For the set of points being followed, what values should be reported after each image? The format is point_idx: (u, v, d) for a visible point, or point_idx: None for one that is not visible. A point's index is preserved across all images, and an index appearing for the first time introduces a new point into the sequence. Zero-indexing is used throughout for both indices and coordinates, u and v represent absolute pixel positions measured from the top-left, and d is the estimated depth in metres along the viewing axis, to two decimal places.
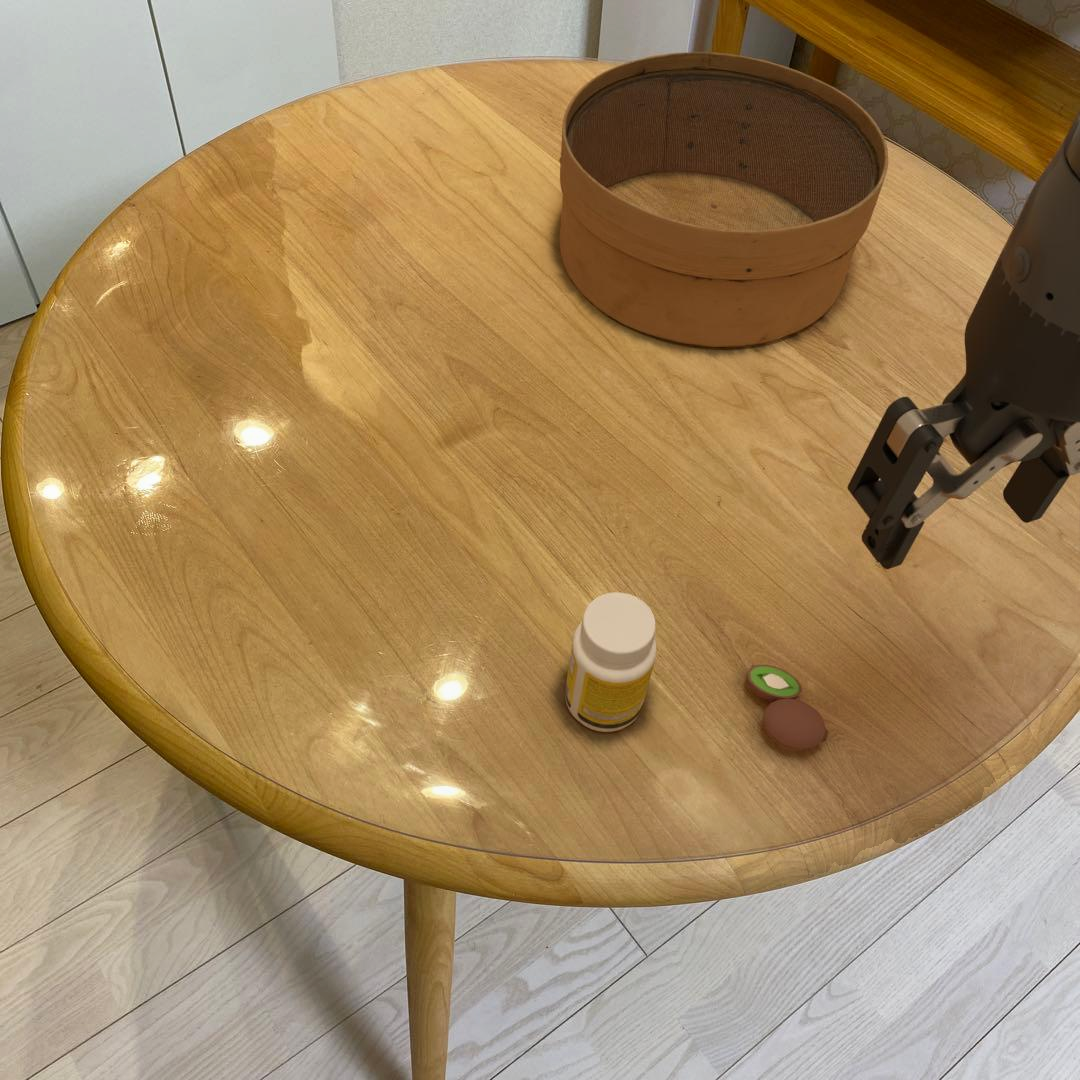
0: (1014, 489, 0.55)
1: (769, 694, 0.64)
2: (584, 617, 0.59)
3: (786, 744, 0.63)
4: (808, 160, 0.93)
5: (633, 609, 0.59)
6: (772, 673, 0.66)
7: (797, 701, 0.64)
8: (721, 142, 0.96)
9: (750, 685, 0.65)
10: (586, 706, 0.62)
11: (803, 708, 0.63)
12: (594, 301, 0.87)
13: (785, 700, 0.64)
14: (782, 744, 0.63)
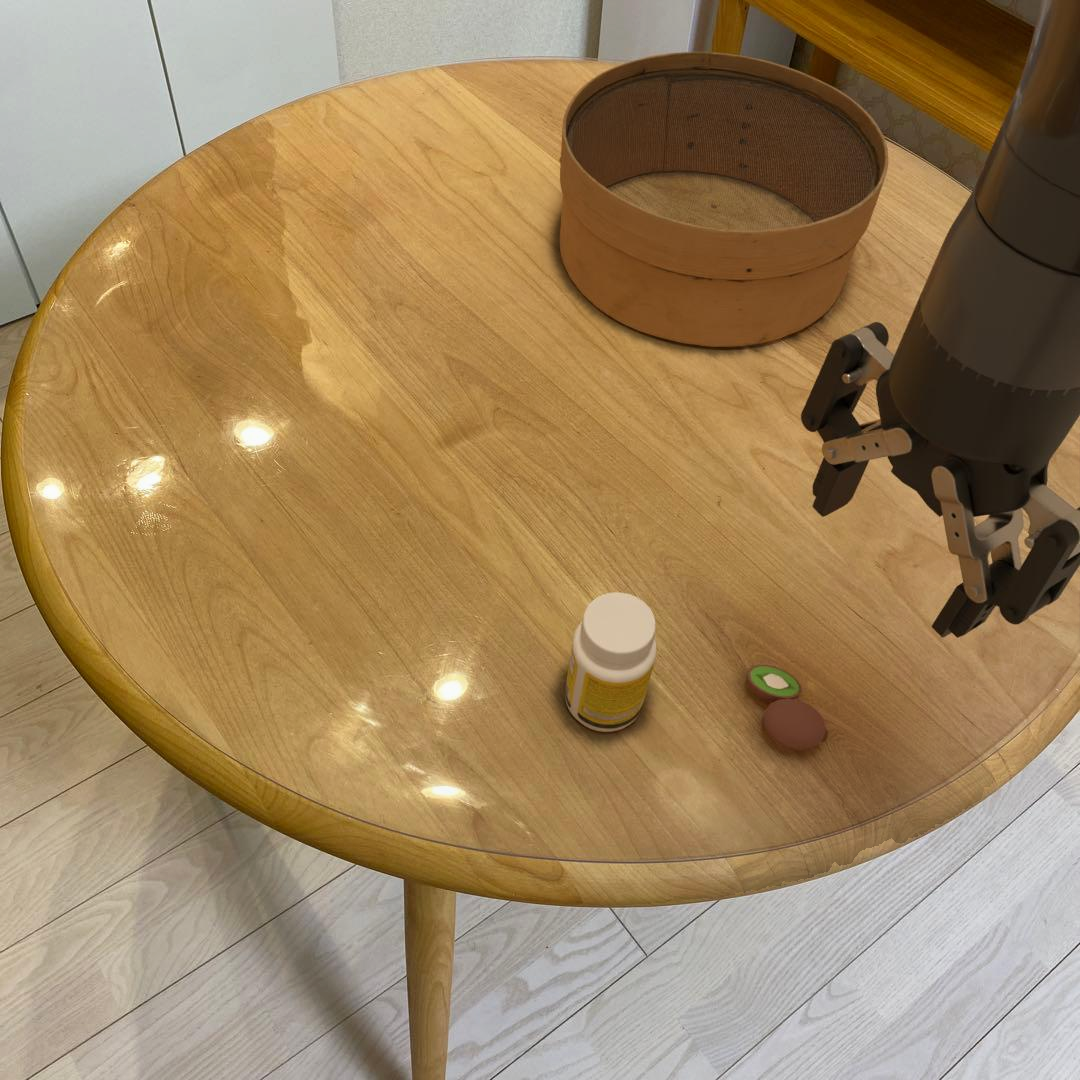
0: None
1: (769, 694, 0.64)
2: (584, 617, 0.59)
3: (786, 744, 0.63)
4: (808, 160, 0.93)
5: (633, 609, 0.59)
6: (772, 673, 0.66)
7: (797, 701, 0.64)
8: (721, 142, 0.96)
9: (750, 685, 0.65)
10: (586, 706, 0.62)
11: (803, 708, 0.63)
12: (594, 301, 0.87)
13: (785, 700, 0.64)
14: (782, 744, 0.63)
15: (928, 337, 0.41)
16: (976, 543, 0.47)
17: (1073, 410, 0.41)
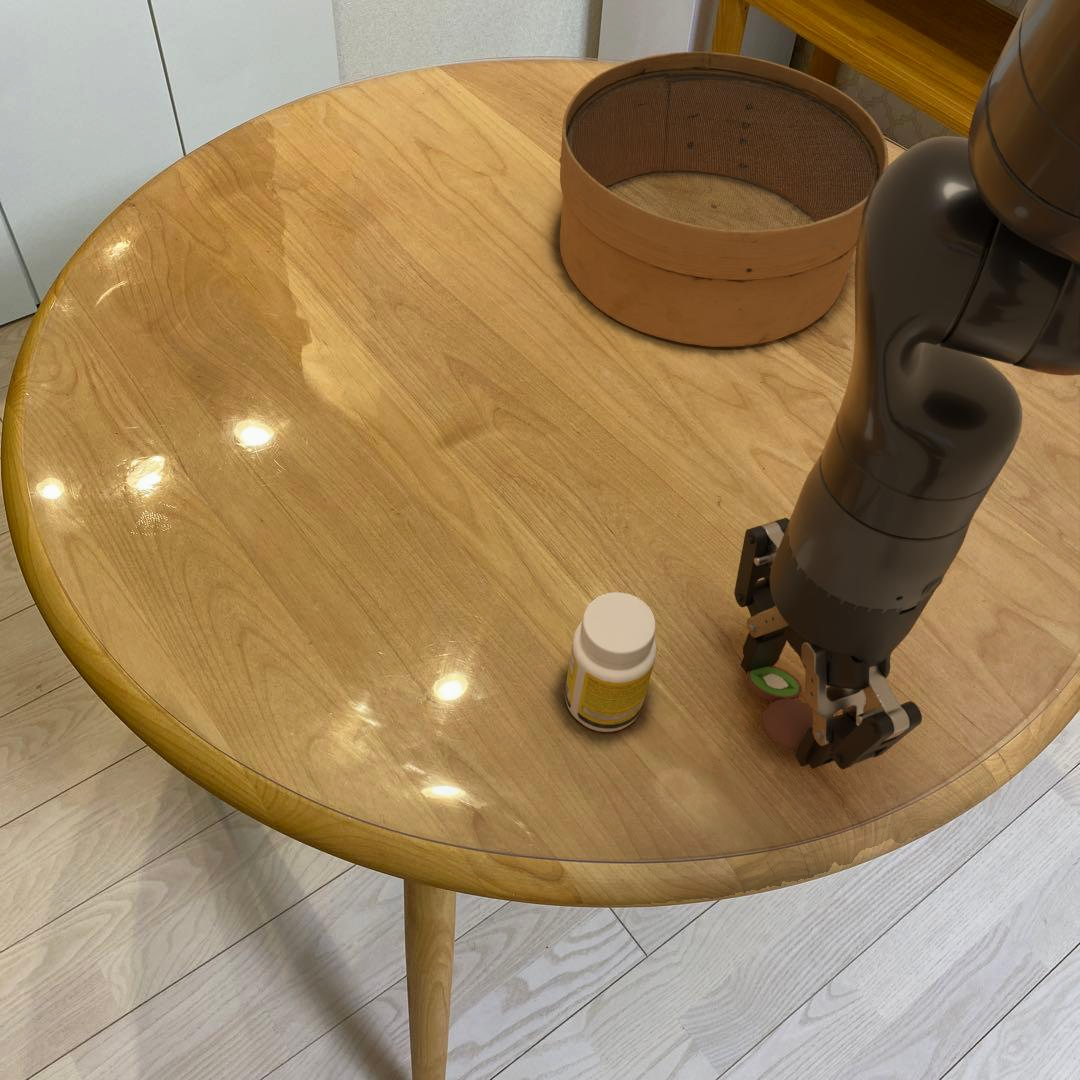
0: None
1: (769, 694, 0.64)
2: (584, 617, 0.59)
3: (786, 744, 0.63)
4: (808, 160, 0.93)
5: (633, 609, 0.59)
6: (772, 673, 0.66)
7: (797, 701, 0.64)
8: (721, 142, 0.96)
9: (750, 685, 0.65)
10: (586, 706, 0.62)
11: (803, 708, 0.63)
12: (594, 301, 0.87)
13: (786, 700, 0.64)
14: (782, 744, 0.63)
15: (788, 547, 0.52)
16: (824, 705, 0.57)
17: (896, 623, 0.51)
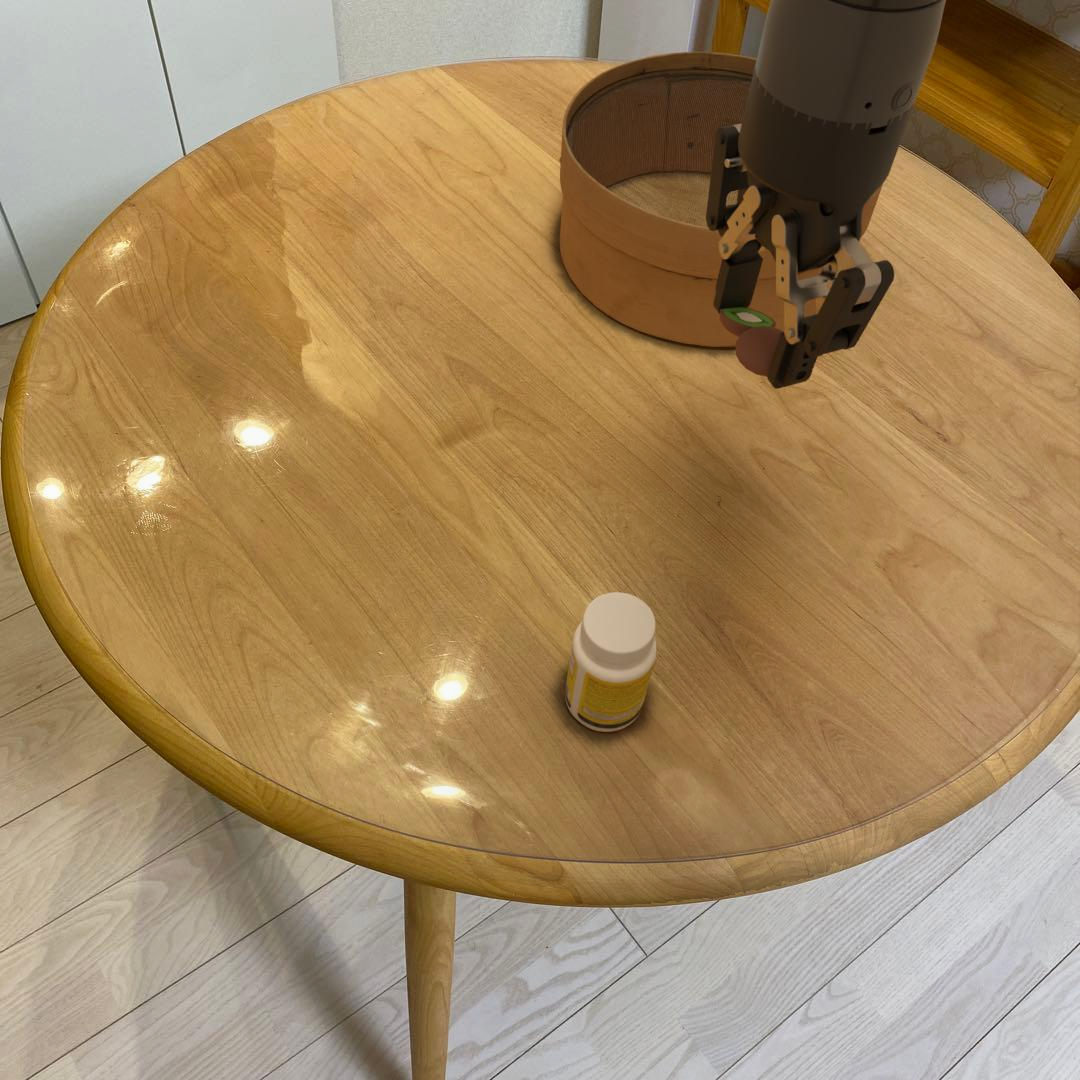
0: None
1: (742, 325, 0.63)
2: (584, 617, 0.59)
3: (759, 366, 0.61)
4: None
5: (633, 609, 0.59)
6: (746, 312, 0.64)
7: (770, 327, 0.62)
8: None
9: (723, 319, 0.64)
10: (586, 706, 0.62)
11: (776, 331, 0.61)
12: (594, 301, 0.87)
13: (759, 326, 0.62)
14: (755, 368, 0.61)
15: (755, 79, 0.50)
16: (796, 290, 0.56)
17: (866, 150, 0.49)
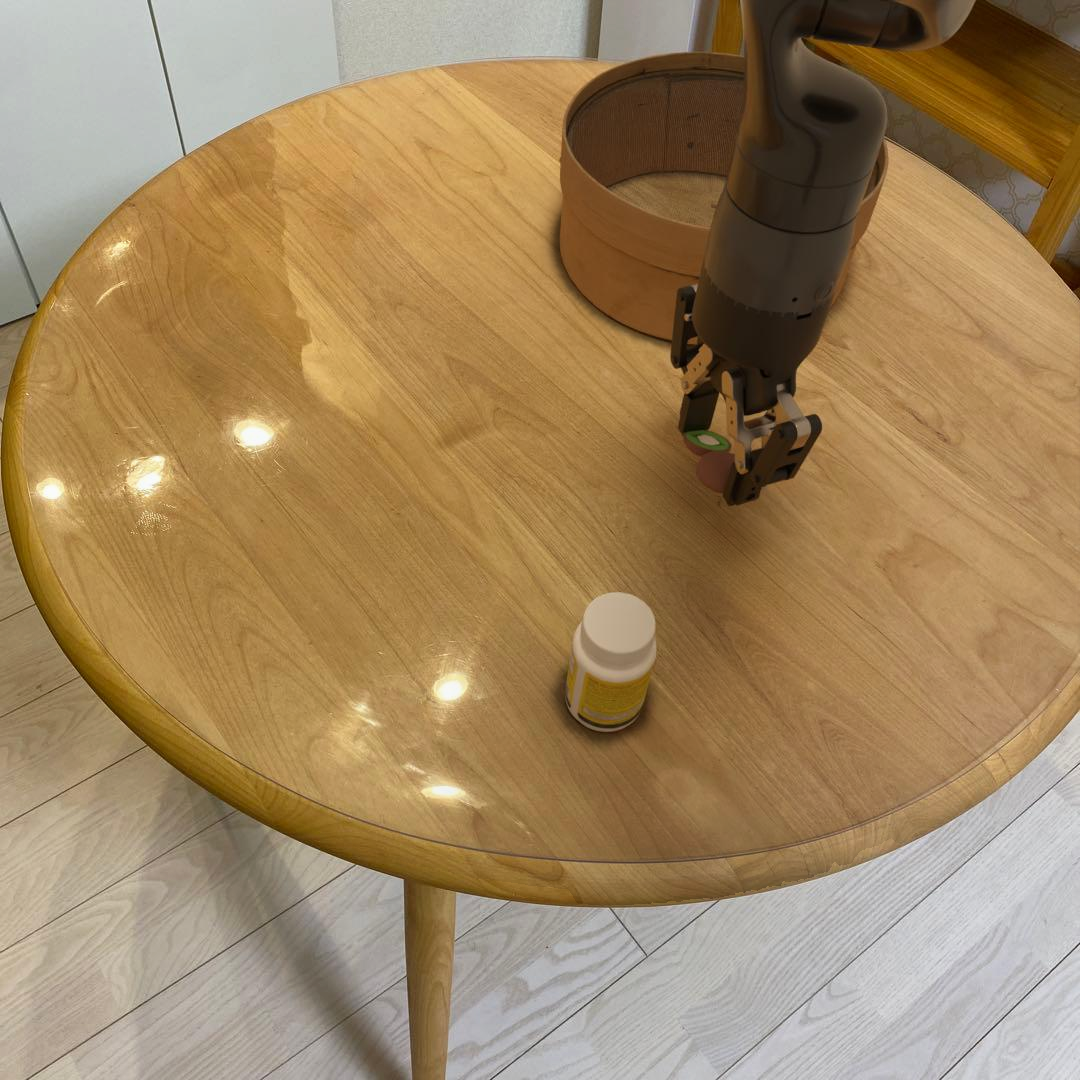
0: None
1: (702, 448, 0.73)
2: (584, 617, 0.59)
3: (715, 486, 0.71)
4: None
5: (633, 609, 0.59)
6: (706, 434, 0.74)
7: (726, 451, 0.72)
8: (721, 142, 0.96)
9: (685, 442, 0.74)
10: (586, 706, 0.62)
11: (730, 456, 0.71)
12: (594, 301, 0.87)
13: (715, 451, 0.72)
14: (712, 487, 0.71)
15: (704, 269, 0.60)
16: (743, 431, 0.66)
17: (795, 331, 0.59)
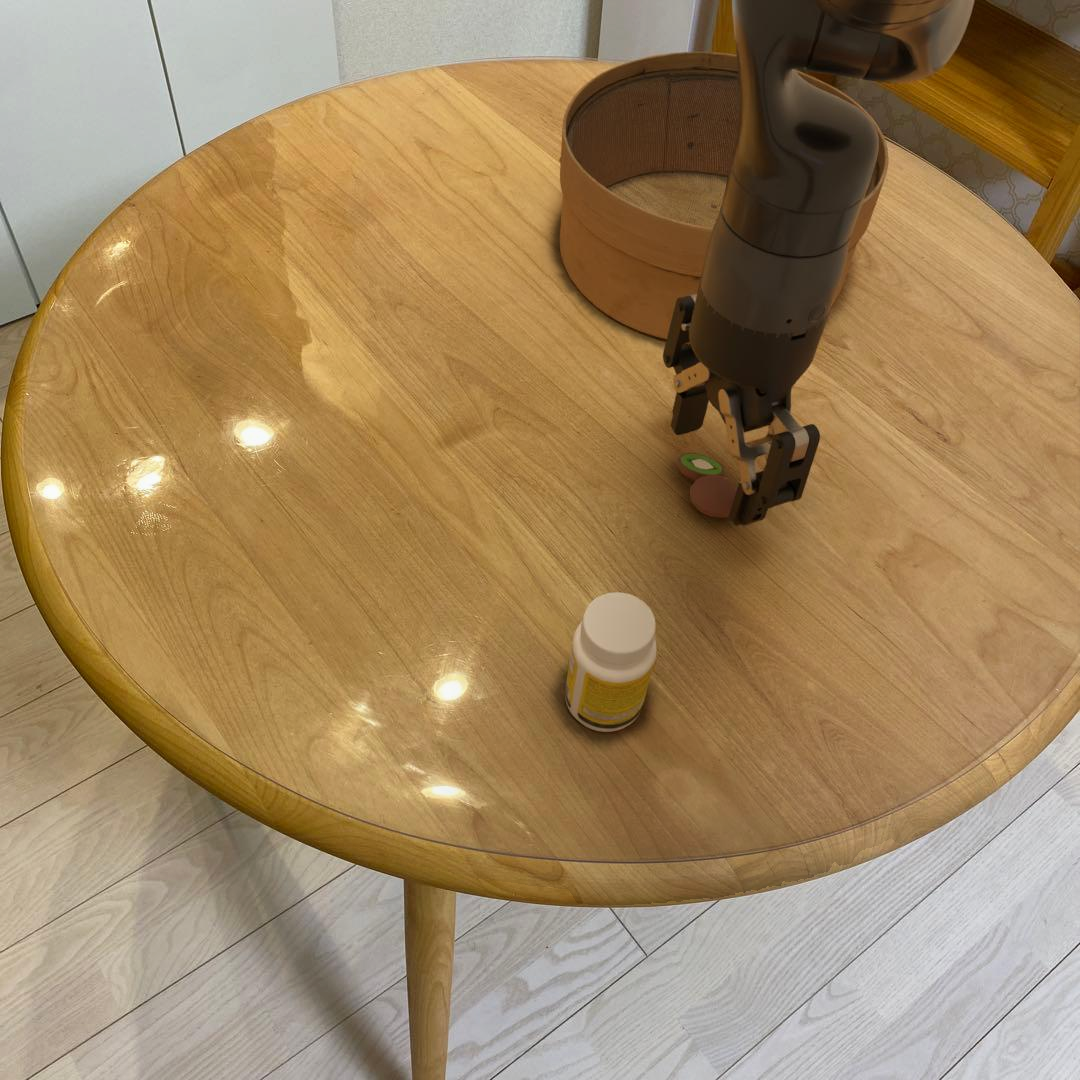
0: None
1: (696, 472, 0.75)
2: (584, 617, 0.59)
3: (709, 510, 0.73)
4: None
5: (633, 609, 0.59)
6: (700, 458, 0.76)
7: (719, 476, 0.74)
8: (721, 142, 0.96)
9: (680, 466, 0.75)
10: (586, 706, 0.62)
11: (724, 480, 0.73)
12: (594, 301, 0.87)
13: (709, 475, 0.74)
14: (705, 511, 0.73)
15: (700, 291, 0.61)
16: (745, 449, 0.66)
17: (790, 351, 0.60)
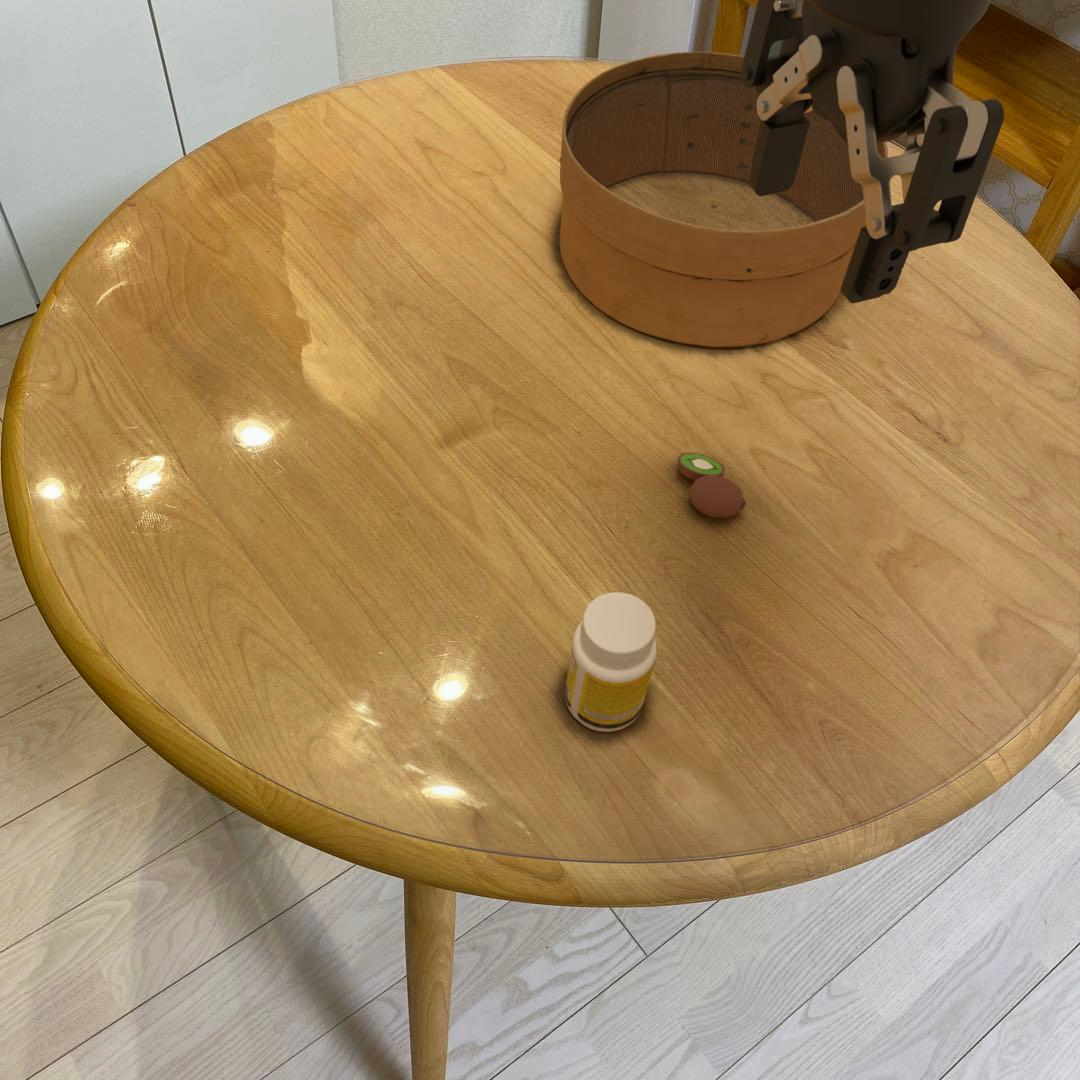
0: None
1: (696, 472, 0.75)
2: (584, 617, 0.59)
3: (709, 510, 0.73)
4: (808, 160, 0.93)
5: (633, 609, 0.59)
6: (700, 458, 0.76)
7: (719, 476, 0.74)
8: (721, 142, 0.96)
9: (680, 466, 0.75)
10: (586, 706, 0.62)
11: (723, 480, 0.73)
12: (594, 301, 0.87)
13: (709, 475, 0.74)
14: (705, 511, 0.73)
15: None
16: (876, 161, 0.44)
17: None
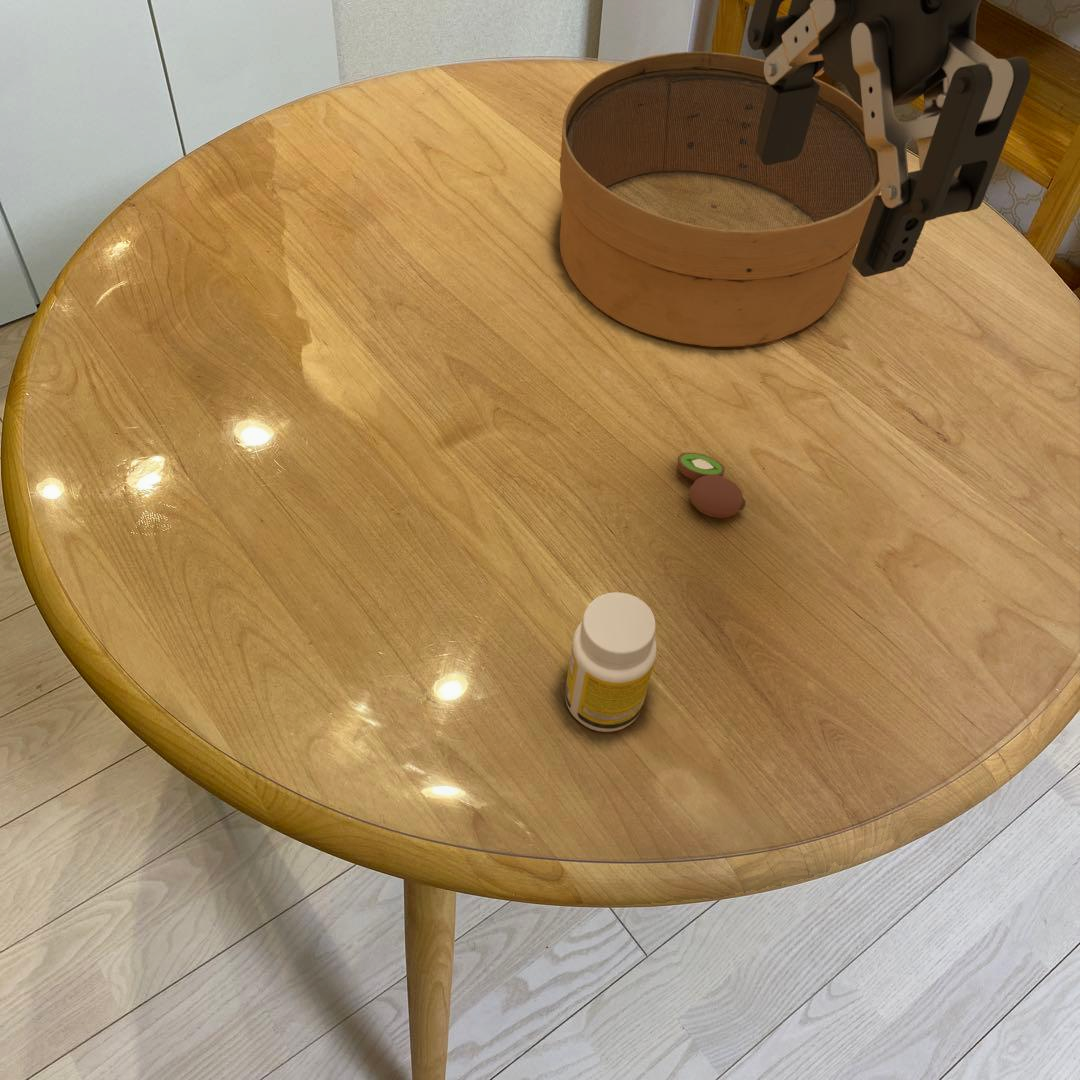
0: None
1: (696, 472, 0.75)
2: (584, 617, 0.59)
3: (709, 510, 0.73)
4: (808, 160, 0.93)
5: (633, 609, 0.59)
6: (700, 458, 0.76)
7: (719, 476, 0.74)
8: (721, 142, 0.96)
9: (680, 466, 0.75)
10: (586, 706, 0.62)
11: (723, 480, 0.73)
12: (594, 301, 0.87)
13: (709, 475, 0.74)
14: (705, 511, 0.73)
15: None
16: (893, 125, 0.42)
17: None
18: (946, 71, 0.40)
